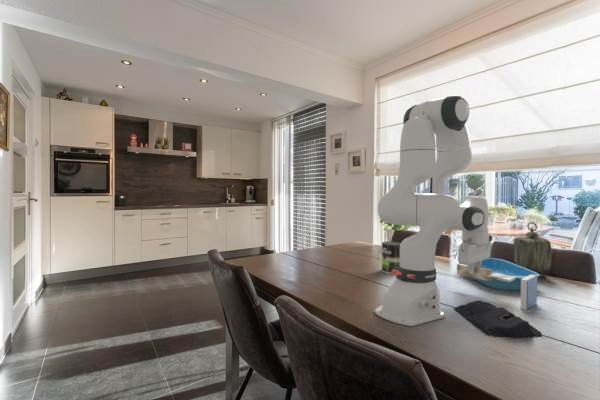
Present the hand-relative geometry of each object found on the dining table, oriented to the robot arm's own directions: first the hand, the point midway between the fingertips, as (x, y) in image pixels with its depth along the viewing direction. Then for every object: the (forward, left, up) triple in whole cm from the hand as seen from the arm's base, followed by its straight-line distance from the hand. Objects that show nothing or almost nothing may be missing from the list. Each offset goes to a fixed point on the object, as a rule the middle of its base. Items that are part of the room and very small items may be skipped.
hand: (474, 272), depth 120 cm
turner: (0, -4, -2) cm, 4 cm away
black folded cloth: (-24, -16, -9) cm, 30 cm away
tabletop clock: (+48, -5, -8) cm, 49 cm away
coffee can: (+2, +39, -8) cm, 40 cm away
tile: (0, -18, -8) cm, 19 cm away
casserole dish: (+25, +2, -8) cm, 27 cm away
